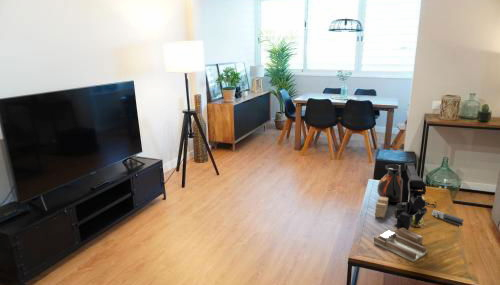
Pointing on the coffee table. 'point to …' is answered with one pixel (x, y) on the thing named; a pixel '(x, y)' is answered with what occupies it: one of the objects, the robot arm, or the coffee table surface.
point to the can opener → (448, 217)
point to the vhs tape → (429, 204)
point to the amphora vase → (391, 185)
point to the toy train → (381, 207)
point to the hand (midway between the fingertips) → (411, 227)
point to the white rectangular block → (388, 236)
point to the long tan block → (410, 236)
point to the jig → (402, 247)
